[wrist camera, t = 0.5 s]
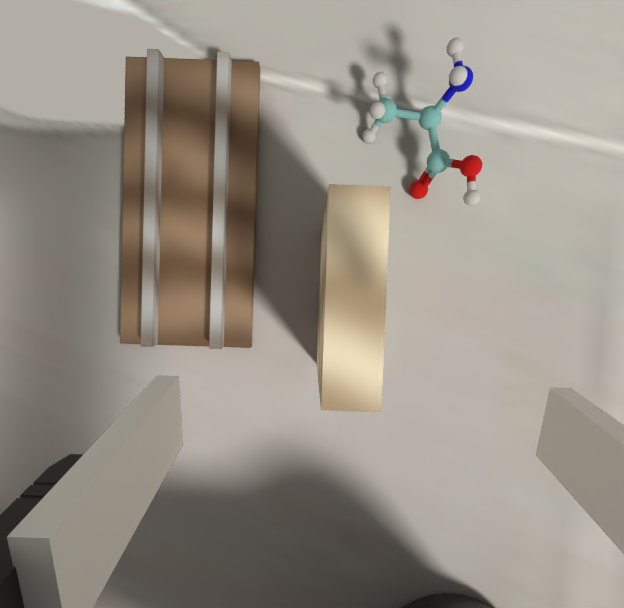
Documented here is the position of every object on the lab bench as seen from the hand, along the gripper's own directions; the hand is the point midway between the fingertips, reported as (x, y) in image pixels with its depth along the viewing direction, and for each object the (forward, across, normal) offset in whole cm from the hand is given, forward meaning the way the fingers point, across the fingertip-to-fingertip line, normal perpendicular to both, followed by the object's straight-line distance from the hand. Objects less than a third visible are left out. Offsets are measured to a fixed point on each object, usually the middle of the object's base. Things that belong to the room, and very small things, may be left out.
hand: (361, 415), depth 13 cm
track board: (+24, +13, -7) cm, 29 cm away
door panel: (+23, 0, +1) cm, 23 cm away
